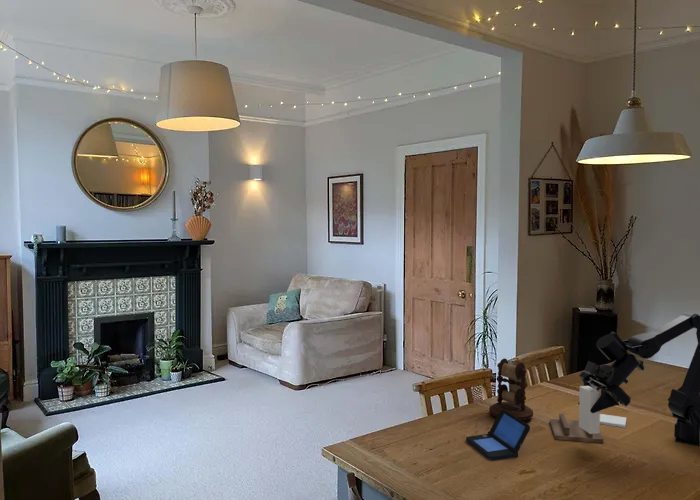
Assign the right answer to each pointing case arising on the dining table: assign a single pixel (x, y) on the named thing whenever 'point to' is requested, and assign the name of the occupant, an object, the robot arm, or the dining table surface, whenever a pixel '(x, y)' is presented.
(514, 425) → the handheld game console
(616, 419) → the external hard drive
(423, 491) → the dining table surface
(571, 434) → the rack
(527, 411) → the wooden spool holder
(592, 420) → the cream rectangular block
